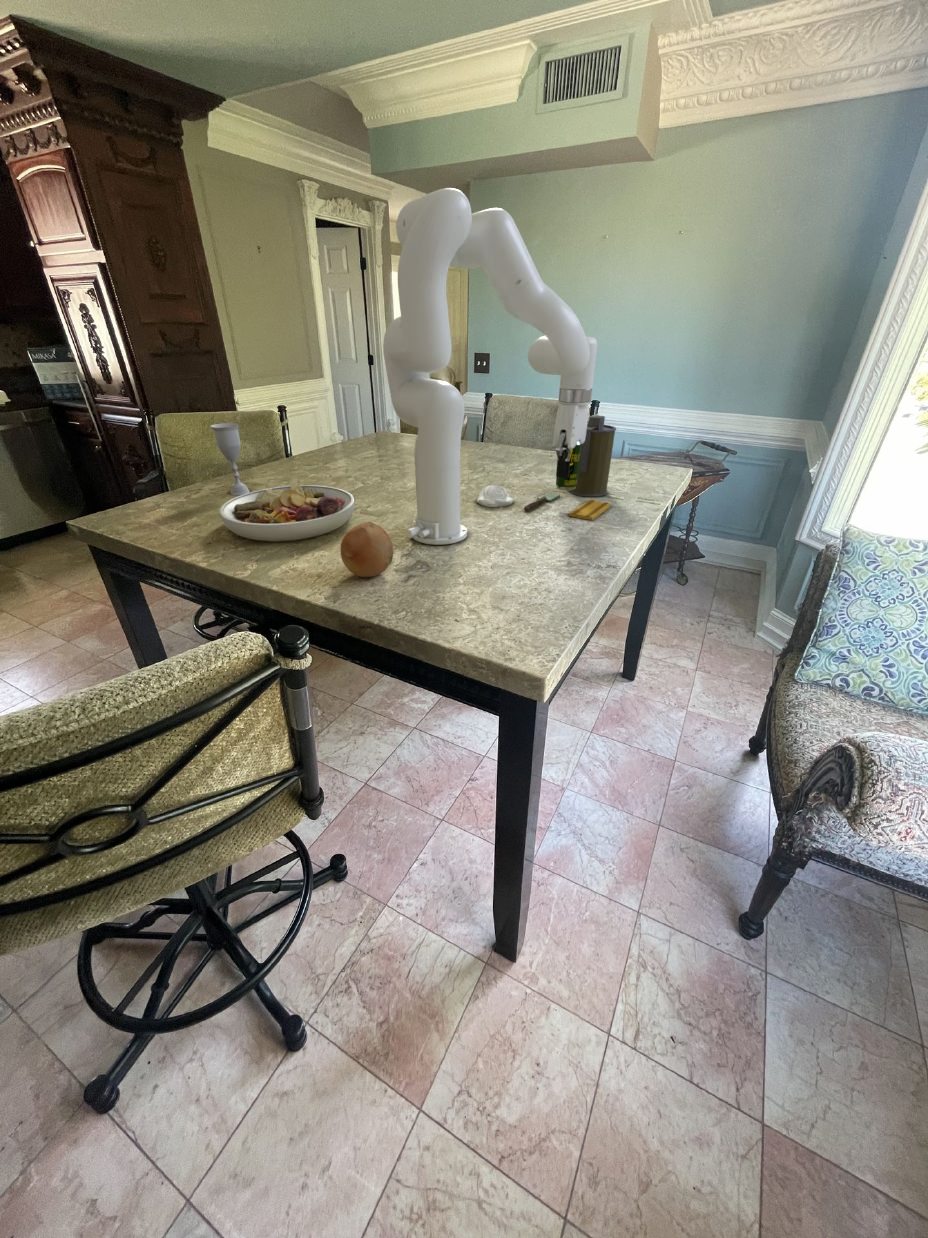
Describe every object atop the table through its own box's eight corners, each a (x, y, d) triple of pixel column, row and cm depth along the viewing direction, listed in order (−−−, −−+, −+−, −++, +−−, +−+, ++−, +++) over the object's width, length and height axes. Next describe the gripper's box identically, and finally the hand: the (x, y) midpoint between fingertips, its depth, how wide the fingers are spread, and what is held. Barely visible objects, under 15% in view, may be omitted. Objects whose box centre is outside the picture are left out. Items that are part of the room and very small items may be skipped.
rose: (487, 478, 137) (520, 483, 133) (487, 494, 140) (519, 499, 135) (470, 487, 130) (503, 493, 126) (470, 504, 132) (503, 510, 128)
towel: (592, 520, 121) (592, 516, 121) (569, 515, 124) (569, 512, 124) (610, 506, 131) (611, 503, 130) (588, 502, 133) (589, 499, 133)
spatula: (532, 513, 126) (532, 507, 125) (518, 510, 128) (518, 505, 127) (560, 496, 138) (560, 491, 137) (546, 494, 140) (547, 489, 139)
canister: (578, 484, 149) (587, 412, 138) (612, 490, 143) (623, 415, 133) (562, 493, 141) (570, 417, 131) (597, 499, 136) (608, 421, 126)
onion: (351, 562, 100) (345, 514, 95) (400, 564, 99) (397, 515, 94) (335, 584, 91) (328, 532, 86) (389, 586, 90) (384, 534, 85)
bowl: (195, 533, 113) (185, 499, 109) (288, 498, 137) (282, 468, 133) (298, 556, 102) (291, 519, 98) (380, 513, 126) (377, 482, 122)
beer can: (551, 486, 129) (555, 437, 123) (567, 483, 131) (572, 435, 125) (564, 491, 125) (569, 441, 119) (581, 488, 127) (586, 439, 121)
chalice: (247, 496, 139) (231, 427, 130) (222, 496, 139) (205, 427, 130) (256, 488, 145) (243, 422, 136) (233, 488, 145) (218, 422, 136)
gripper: (574, 392, 125) (567, 465, 135) (544, 399, 113) (538, 479, 122) (603, 393, 122) (593, 469, 131) (575, 401, 109) (567, 484, 119)
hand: (567, 473), depth 127 cm, fingers closed on beer can, 5 cm apart
